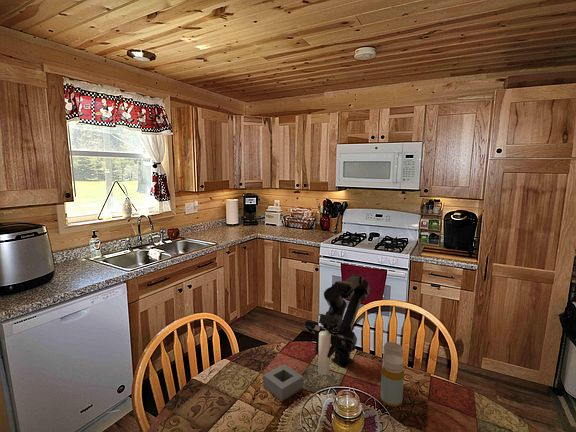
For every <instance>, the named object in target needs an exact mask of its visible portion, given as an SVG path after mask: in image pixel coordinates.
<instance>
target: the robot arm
mask: <svg viewBox="0 0 576 432" xmlns="http://www.w3.org/2000/svg"><path fill="white" fill-rule="evenodd" d="M370 291H371V288H370V283H369V282H368V281H367V280H366V279H365V278H364V276H362V275H360V274H355V273H353V274H351V275H350V276H349V277H348V278H347V279H345V280H344V281H343V280H337V281H335V282H334V283H333V284H332V285H331V286H330V287H328V288H326V289H325V290H324V291H323V297H324V300H325V301H326V303H327V305H328V310H327V311H326V313H324V314H323V313H320V314H319V319H318V323H319V324H321V325H319V324H318V323H317V321H314V320H310V319H307V320H305V321H304V324H303V328H305V330H306V331H307V332H309V333H311V334H314V335H315V355H318V351H319V332H321V331H328V332H330V333H331V341H330V350H329V353H328V358H330V359H331V362H333V363H335V364H337V365H338V366H340V367H342V368H346V367H347V366H349V365H351V364H352V363H354V360H353V359H352V358H351V355H352V352H355V351H356V345H357V342H358V338H357V336H356V334H355V332H354V331H353V330H352V329H353V327H354V323H355V320H356V317H357V315H358V313H359V312H358V311H359V309H360V306H361V303H363V302H364V301H366V300H367V298H368V296H369V295H370ZM345 299H346V300H349V302H348V303H347V302H346V300H345ZM333 354H334V357H333V358H331V357H332V356H333Z"/></svg>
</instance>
